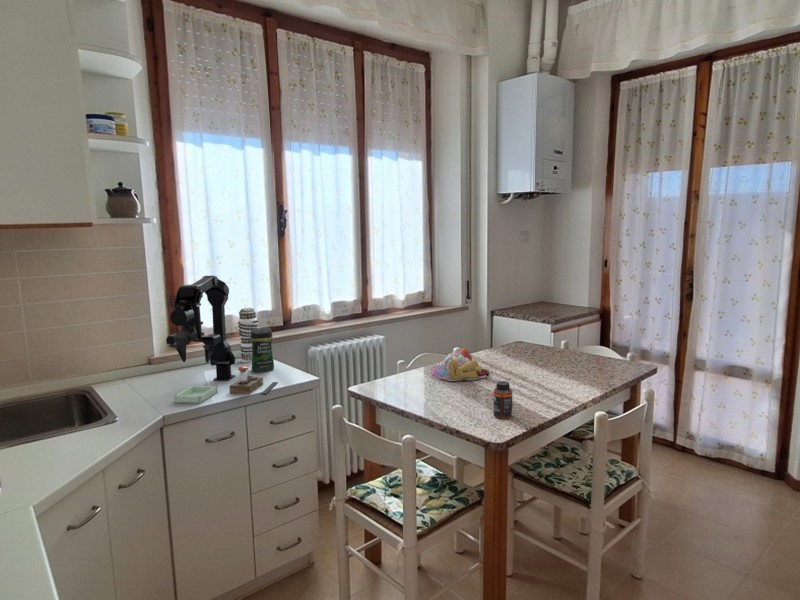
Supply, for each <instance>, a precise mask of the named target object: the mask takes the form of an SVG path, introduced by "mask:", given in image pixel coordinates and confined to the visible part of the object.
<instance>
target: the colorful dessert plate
mask: <svg viewBox="0 0 800 600" xmlns="http://www.w3.org/2000/svg"><path fill="white" fill-rule="evenodd" d="M434 368H435V369H433V372H432V373H431V375H432V376H433V377H435V379H439V380H440V381H441V380H444V381H447V382H458V381H463V380H464V381H476V380H480V379H486V378H487V377H490V372H489V370H488V369H485V368H482V367H481V366H479V363H478V361H477V360H475V359H473V355H472V354H470V351H469V349H467V348H462V349H461V350H460V351H459V353H457V352H452V353H448V355H447V356H446V357H445V358H444V359H443V361H442V362H441V363H440V362H438V363H435V367H434Z"/></svg>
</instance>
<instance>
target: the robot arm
mask: <svg viewBox="0 0 800 600" xmlns="http://www.w3.org/2000/svg"><path fill="white" fill-rule="evenodd" d="M203 294H205V295H206V299H207V301H208V303H209V305H210V306H211V311H212V314H211V315H212V329H213V330H212V331H213V333H210V334H207V335H205V332H203V330H202V329H203V328H202V325H204V321H202V319H201V308H200V307H201V306H202V303H201V301H202V298H203V297H204V296H203ZM229 294H230V287H229V286H228V285H227V283H226V282H225V281H223V280H221V279H219V278H218V276H217V275H204V276H202V278H200V279H199V280H196V281H195V282H193V283H191V284H183V285H180V286H179V287H178V289H177V291H176V296H175V299H174V302H173V303H174V305H173V306H174V310H173V311H171V313H170V316H169V319H170V322H171V323H172V324H173V325H174V326H177V327H181V328H180V330H179V331H178V332H176V333H172V334H170V335H167V336H166V338H165V343H166V345H169V346H170V347H173V348H174V349H175V350H176V352H177V353H178V355H179V356H180V358H181V360H182V362H183V363H185V362H186V360H187V346H188V345H189V344H190V343H193V342H197V343H202V344H203V345H202V348H203V349H204V356H205V357H204V359H205V363H207V364H208V363H209V362H210V366H215V373H216V377H214V378H213V379H212V380H213V381H229V380H231V379H232V378H234V377H236V376H235V374H232V367H231V366H233V365H235V364H236V356H235V355H234V353H233V351H232V349H231V344H229V342H228V341H227V332H226V331H227V329H226V328H227V327H226V314H225V313H226V311H225V309H226V308H225V306H226V303H227V302H228V300H229V296H230V295H229ZM204 335H205V336H204Z"/></svg>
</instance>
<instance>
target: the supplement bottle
mask: <svg viewBox="0 0 800 600" xmlns="http://www.w3.org/2000/svg"><path fill="white" fill-rule="evenodd" d="M493 417H494V418H496V419H498V420H510V419H511V418H512V417H513V390H512V389H511V387H510V382H509V381H506V380H500V381H497V382H496V387H495V388H494V390H493Z"/></svg>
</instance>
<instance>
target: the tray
mask: <svg viewBox="0 0 800 600" xmlns="http://www.w3.org/2000/svg"><path fill="white" fill-rule="evenodd" d="M217 394H218V386H214V385H192V386H190V387H187V388H186V389H184V390H183V391H181V392H179V393H177V394H175V395H174V396H173V398H174V404H196V405H197V404H198V405H200V404H201V405H202V403H204V402H206V401H208V400H209V399H210V398H212V397H213V396H215V395H217Z"/></svg>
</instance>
